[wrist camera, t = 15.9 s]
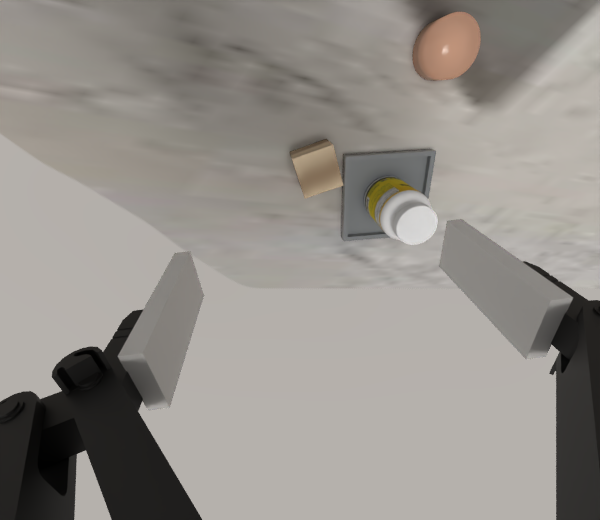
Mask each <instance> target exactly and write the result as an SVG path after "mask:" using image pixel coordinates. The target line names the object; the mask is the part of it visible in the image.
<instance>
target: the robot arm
mask: <svg viewBox="0 0 600 520" xmlns="http://www.w3.org/2000/svg"><path fill="white" fill-rule="evenodd" d="M439 267H440V268H441V269H442V270H443V271H444V272H445V273H446V274H447V275H448V276H449V277H450V278H451V280H452V281H453V282H454V283H455V284H456V285H457V286H458V287H459V288H460V289H461V290H462V291H463V292H464V293H465V295H467V297H468V298H469V299H470V300H471V301H472V302H473V303H474V304H475V305H476V306H477V307H478V308H479V310H480V311H481V312H482V313H483V314H484V315H485V316H486V317H487V318H488V319H489V320H490V321H491V322H492V323H493V324H494V326H495V327H496V328H497V329H498V330H499V331H500V332H501V333H502V334H503V335H504V336H505V337H506V338H507V339H508V341H509V342H510V343H511V344H512V345H513V346H514V347H515V348H516V349H517V350H518V351H519V352H520V353H521V355H522V356H523V357H524V358H525V359H531V358H539V357H545V356H546V355H547V353H548V351H549V349H550V347H551V344H552V345H553V346H554V347H555V348H556V349H558V351H560V352H559V354H558V357H557V358H556V361H555V363H554V365H553V367H552V369H551V371H550V374H552V375H553V374H554V372H555V371H556V422H557V423H556V452H557V453H556V459H557V460H556V461H557V462H556V472H557V473H556V485H557V486H556V493H557V494H556V500H557V501H556V514H557V516H556V517H557V518H556V520H600V301H598V300H593V301H588V300H587V299H585V298H584V297H582V296H581V295H579V294H578V293H577V292H575V291H574V290H572V289H571V288H569V287H568V286H566V285H565V284H563V283H562V282H558V280H557V279H556V278H554V277H553V276H550V275H549V273H547V272H546V271H544V270H543V269H541V268H540V267H538V266H535V265H533V264H530V263H528V262H525V261H524V262H522V261H520V260H519V259H518V258H516V257H515V256H513V255H512V254H511V253H509V252H508V251H506V250H505V249H503V248H502V247H501V246H499V245H498V244H496V243H495V242H493V241H492V240H491V239H489V238H488V237H486V236H485V235H483V234H482V233H481V232H479V231H478V230H476V229H475V228H473V227H472V226H471V225H469V224H468V223H466V222H465V221H464V220H462V219H458V220H450V221H447V224H446V230H445V235H444V241H443V247H442V253H441V259H440V264H439ZM203 297H204V294H203V291H202V288H201V285H200V282H199V278H198V275H197V272H196V268H195V266H194V262H193V259H192V256H191V252H190V251H189V252H181V253H175V254H174V256H173V257H172V259H171V261H170V263H169V265H168V266H167V268H166V270H165V272H164V274H163V276H162V277H161V279H160V281H159V283H158V285H157V286H156V288H155V290H154V292H153V294H152V295H151V297H150V299H149V301H148V302H147V304H146V306H145V308H144V310H137V311H133V312H132V313H130V314H129V315H128V316H127V317H126V318H125V319H124V320H123V321H122V323H121V324H120V326H119V328H118V329H117V332H115V334H114V336H113V339H111V341H110V342H109V344H108V345H107V347H106V349H105V350H104V352H102V350H100V349H99V348H98V347H87V348H82V349H79V350H77V351H74V352H72V353H71V354H69V355H68V356H66V357H64V358H63V359H62V360H61V361H60V362H59V363H58V364H57V365H56V366H55V368H54V370H53V372H52V378H53V379H54V380H55V382H56V383H57V384H58V386H59V387H60V388H61V390H62V391H61V392H59V393H56V394H53V395H51V396H48V397H45V398H42V399H39V397H38V396H37V395H36V394H35V393H33V392H31V391H29V392H21V393H17V394H14V395H12V396H10V397H8V398H6V399H4V400H3V401H1V402H0V520H74V510H75V484H76V458H77V454H78V453H80V452H82V451H85V450H86V451H87V454H88V456H89V459H90V462H91V465H92V467H93V470H94V473H95V475H96V478H97V480H98V483H99V486H100V489H101V491H102V494H103V497H104V499H105V502H106V505H107V508H108V510H109V513H110V516H111V519H112V520H202V519H201V517H200V515H199V514H198V512H197V510H196V508H195V507H194V505H193V503H192V502H191V500H190V498H189V497H188V495H187V493H186V492H185V490H184V488H183V487H182V485H181V483H180V481H179V480H178V478H177V476H176V475H175V473H174V472H173V470H172V468H171V466H170V465H169V463H168V461H167V460H166V458H165V456H164V454H163V453H162V451H161V449H160V448H159V446H158V444H157V443H156V441H155V439H154V438H153V436H152V434H151V433H150V431H149V429H148V428H147V426H146V424H145V423H144V421H143V419H142V418H141V416H140V414H139V413H138V410H139V408H140V405H141V402H142V401H143V402H144V404H145V406H146V408H147V409H148V410H154V409H161V408H169V407H170V405H171V401H172V398H173V394H174V392H175V388H176V385H177V382H178V378H179V375H180V372H181V368H182V365H183V362H184V359H185V355H186V352H187V349H188V345H189V343H190V339H191V336H192V333H193V329H194V326H195V323H196V320H197V316H198V313H199V309H200V306H201V303H202V300H203Z"/></svg>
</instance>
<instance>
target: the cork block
mask: <svg viewBox="0 0 600 520" xmlns="http://www.w3.org/2000/svg"><path fill="white" fill-rule="evenodd" d="M290 155H291V158H292V161H293V164H294V167H295V170H296V173H297V176H298V179H299V182H300V185H301V189H302V192H303V195H304V198H308V197H311V196H314V195H317V194H320V193H323V192H326V191H329V190H332V189H335V188H338V187H340V186H343V182H342V178H341V174H340V170H339V166H338V162H337V158H336V154H335V150H334V146H333V144H332V143H331V142H329V141H328V140H327V139H325V140H322V141H319V142H316V143H314V144H311V145H308V146H305V147H302V148H299V149H297V150H294V151H291V152H290Z"/></svg>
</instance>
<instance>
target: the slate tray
mask: <svg viewBox="0 0 600 520" xmlns="http://www.w3.org/2000/svg"><path fill="white" fill-rule="evenodd" d="M435 155H436V151H435V150H432V149H424V150H409V151H393V152H377V153H362V154H346V155H343V180H342V182H343V186H342V225H341V237H342V239H343V241H351V240H364V239H376V238H389V236H388V235H387V234H386V233H385V232H384V231H383V230H382V229H381V227H380V226H379V225H378V224H377V223H376V221H375V220H374V219H373V218H372V217H371V215H370V214H369V213H368V211H367V210H366V208H365V204H364V197H365V193H366V191H367V189H368V187H369V186H370V185H371V184H372V183H373V182H374V181H376V180H377V179H379V178H381V177H385V176H393V177H396V178H399V179H400V180H402V181H404V182H405V183H407V184H408V185H410V186H411V187H413V188H414V189H416V190H418V191H419V192H421V193H422V194H424V195H425V196H426V197H427V198H429V191H430V185H431V179H432V173H433V167H434V161H435Z"/></svg>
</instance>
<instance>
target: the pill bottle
mask: <svg viewBox="0 0 600 520" xmlns="http://www.w3.org/2000/svg"><path fill="white" fill-rule="evenodd" d="M364 204H365V208H366V210H367V211H368V213H369V214H370V215H371V217H372V218H373V219H374V220H375V221H376V223H377V224H378V225H379V226H380V227H381V229H382V230H383V231H384V232H385V233H386V234H387V235H388V236H389V237H391V238H393V239H396V240H401V241H402V242H403V243H406V244H409V245H416V244H420V243H423V242H425V241H426V240H428V239H429V238H430V237H431V236H432V235H433V233H434V232H435V230H436V228H437V223H438V219H437V215H436V213H435V211H434V210H433V209H432V207H431V203H430V201H429V200H428V198H427V197H426V196H425V195H424V194H422V193H421V192H419V191H418V190H416V189H414V188H413V187H411V186H410V185H408V184H407V183H405V182H404V181H402V180H400V179H399V178H396V177H393V176H385V177H381V178H379V179H377V180H376V181H374V182H373V183H372V184H371V185H370V186H369V187H368V189H367V191H366V193H365V197H364Z"/></svg>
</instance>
